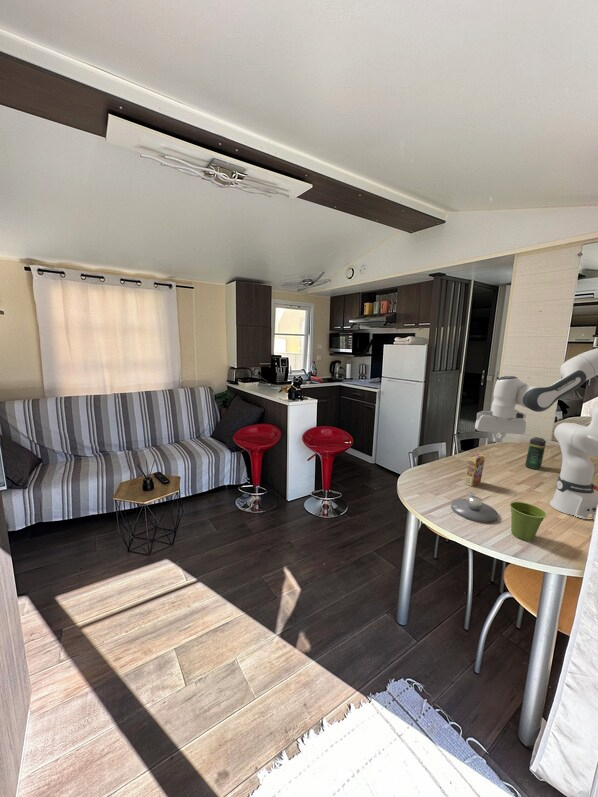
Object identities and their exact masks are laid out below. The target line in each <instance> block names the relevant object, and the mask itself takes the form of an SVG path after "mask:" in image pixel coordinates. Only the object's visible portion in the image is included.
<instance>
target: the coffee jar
mask: <svg viewBox="0 0 598 797" xmlns="http://www.w3.org/2000/svg"><path fill="white" fill-rule="evenodd" d="M546 443H547V440H545V439H544V438H541V437H536V436H535V437H532V438H530V439H529V444H528V450H527V453H526V454H527V455H526V460H525V463H524V464H525V467H526V468H529V469H531V470H540V469H541V468H542V463H543V459H544V455H545V448H546Z"/></svg>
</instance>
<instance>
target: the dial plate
mask: <svg viewBox="0 0 598 797" xmlns="http://www.w3.org/2000/svg"><path fill="white" fill-rule="evenodd" d="M450 507H451V508H450V509H451V510H452V511H453V512H454V513H455V514H457V515H458V516H460V517H462V518H463V519H466V520H469V521H471V522H476V523H481V524H491V523H495V522H497V520H498V518H499V514H498V512H497V510H496V509H495V508H493V507H492V506H491V505H488V504H486V503H484V502H482V504H481V510H479V511H476V510H472V509H470V508H469V507H468V501H467V498H456V499H454V500H452V501H451V506H450Z"/></svg>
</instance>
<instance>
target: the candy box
mask: <svg viewBox="0 0 598 797" xmlns="http://www.w3.org/2000/svg"><path fill="white" fill-rule="evenodd" d="M485 460H486V456H485V455H483V454H478V453H477V454H474V455H469V456H468V460H467V468H466V472H465V478H464V484H465V485H466V486H469V487H474V486H476V485H479V484H481V482H482V476H483V471H484V466H485Z"/></svg>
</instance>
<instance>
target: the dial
mask: <svg viewBox="0 0 598 797" xmlns="http://www.w3.org/2000/svg"><path fill="white" fill-rule="evenodd" d="M466 499H467V501H468V507H469V508H470V509H472V510H476V511H479V510H481V504H482V503H483V499H481V497H479V496H476V495H475V493H473V491H467V496H466Z"/></svg>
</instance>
